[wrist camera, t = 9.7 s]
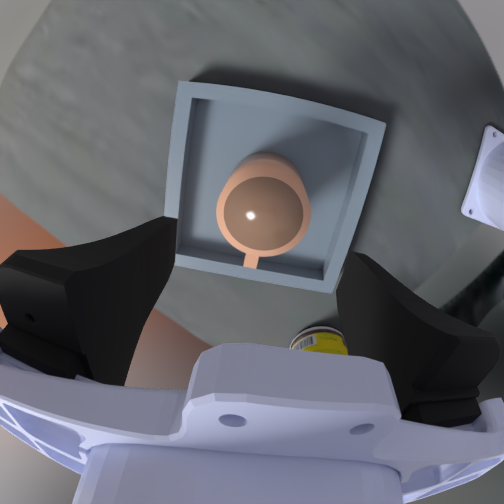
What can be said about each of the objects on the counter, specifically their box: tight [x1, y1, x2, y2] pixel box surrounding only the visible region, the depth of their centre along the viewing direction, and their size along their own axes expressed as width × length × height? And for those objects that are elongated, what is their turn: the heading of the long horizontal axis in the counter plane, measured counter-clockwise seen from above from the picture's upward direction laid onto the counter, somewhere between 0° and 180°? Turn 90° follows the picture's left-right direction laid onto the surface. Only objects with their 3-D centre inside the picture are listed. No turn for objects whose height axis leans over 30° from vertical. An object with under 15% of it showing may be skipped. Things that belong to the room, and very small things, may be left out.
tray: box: [164, 81, 386, 293], centre depth 20 cm, size 13×13×2 cm
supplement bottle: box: [290, 326, 348, 355], centre depth 23 cm, size 6×6×10 cm
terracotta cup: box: [216, 152, 311, 269], centre depth 18 cm, size 5×6×5 cm
